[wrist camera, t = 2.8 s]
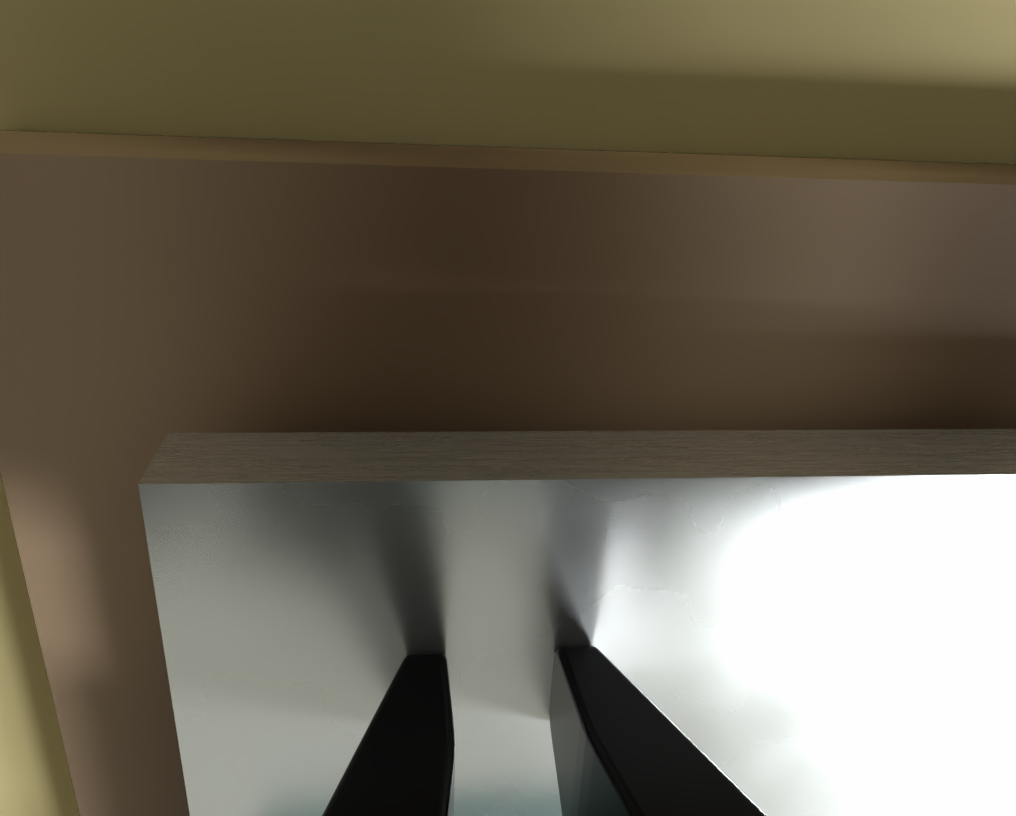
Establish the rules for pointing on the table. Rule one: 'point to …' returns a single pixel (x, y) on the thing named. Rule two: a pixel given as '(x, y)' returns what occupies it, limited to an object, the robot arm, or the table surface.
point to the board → (438, 336)
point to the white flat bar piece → (596, 606)
